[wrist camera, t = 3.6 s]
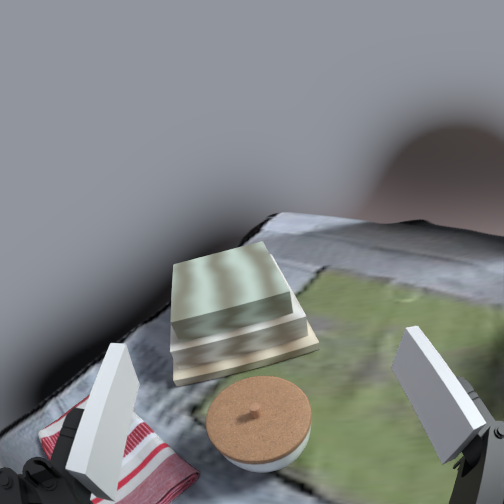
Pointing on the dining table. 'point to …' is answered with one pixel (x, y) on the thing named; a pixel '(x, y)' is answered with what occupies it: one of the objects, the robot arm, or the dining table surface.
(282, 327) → the brick tower
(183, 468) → the dish towel
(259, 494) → the dining table surface
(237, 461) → the lidded jar
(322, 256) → the dining table surface
